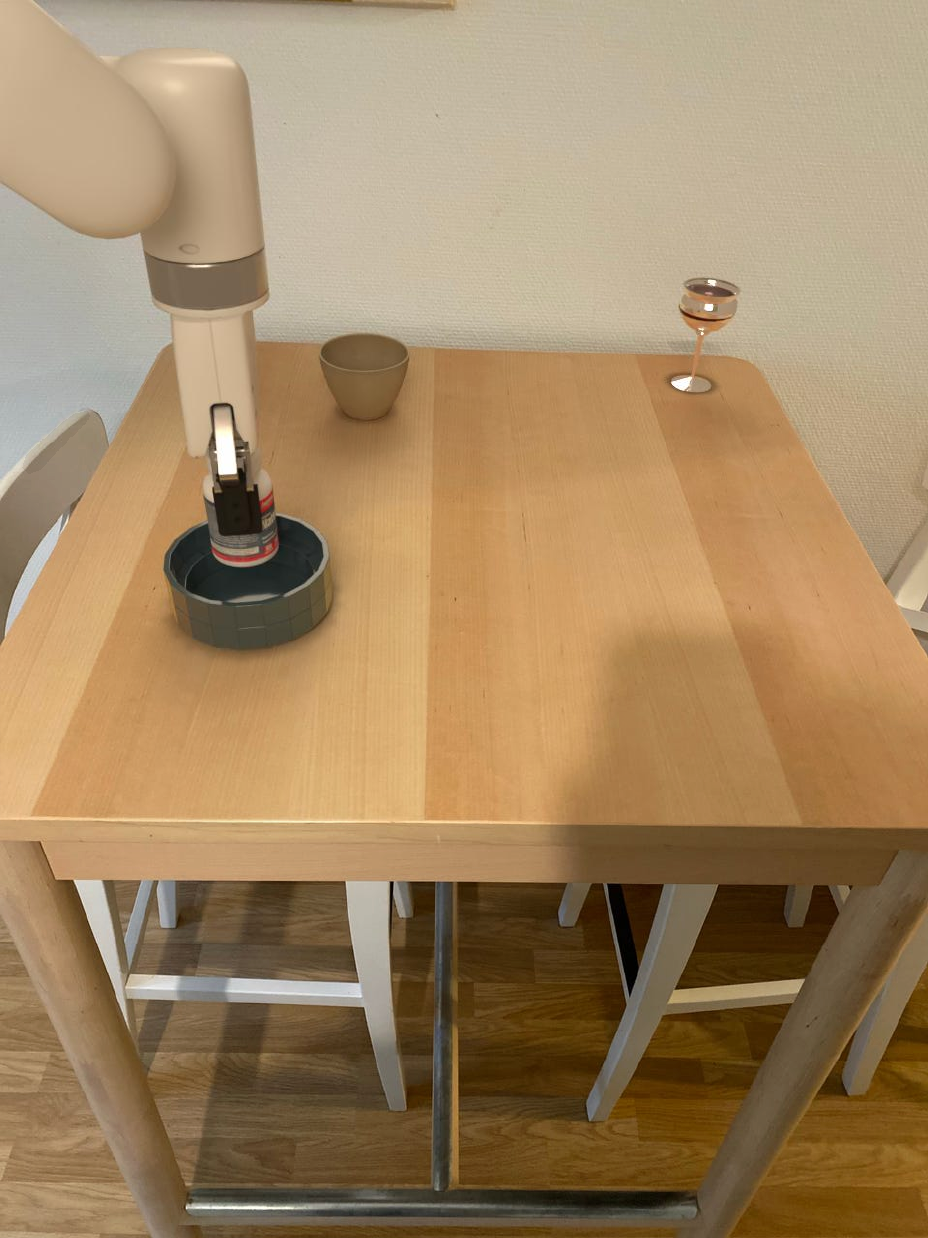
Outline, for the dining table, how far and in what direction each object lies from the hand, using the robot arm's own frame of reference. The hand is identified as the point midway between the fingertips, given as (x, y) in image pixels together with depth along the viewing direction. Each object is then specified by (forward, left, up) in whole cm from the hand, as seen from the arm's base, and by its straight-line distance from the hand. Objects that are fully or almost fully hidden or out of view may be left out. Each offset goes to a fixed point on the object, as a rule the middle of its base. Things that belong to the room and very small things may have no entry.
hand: (241, 508), depth 70 cm
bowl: (0, 0, -9) cm, 9 cm away
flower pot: (+13, +34, -10) cm, 38 cm away
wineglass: (+54, +37, -10) cm, 66 cm away
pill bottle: (0, 0, -4) cm, 4 cm away
